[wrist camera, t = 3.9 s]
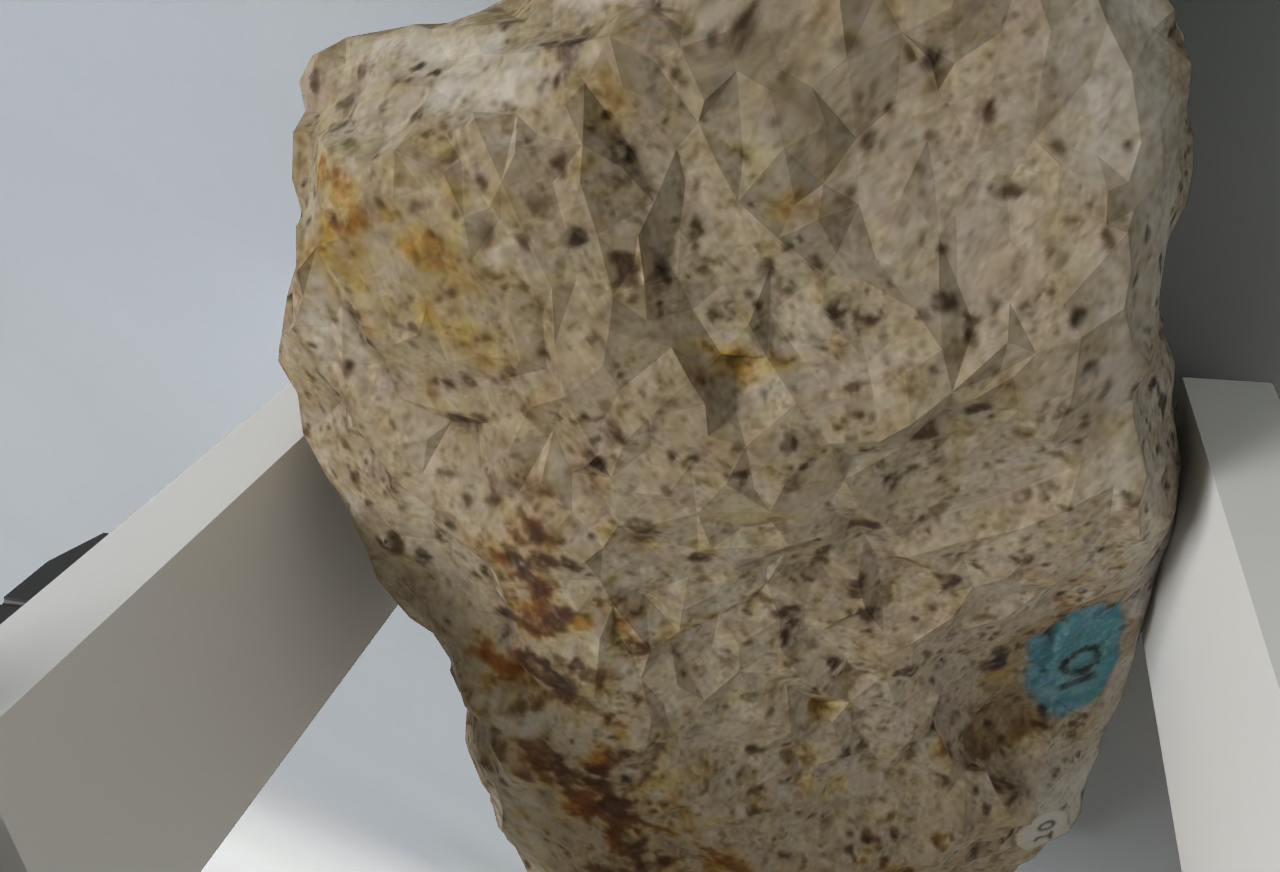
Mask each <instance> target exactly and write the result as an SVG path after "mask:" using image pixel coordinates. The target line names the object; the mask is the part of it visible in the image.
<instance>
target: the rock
mask: <svg viewBox="0 0 1280 872" xmlns="http://www.w3.org/2000/svg"><path fill="white" fill-rule="evenodd" d="M1184 39H1185V36H1184V34H1183V33H1182V31H1181V29H1180V28H1179V26H1178V24H1177V23H1176V18H1175V9H1174V7H1173V5H1172V3H1171V1H1170V0H502V1H500V2H498V3H496V4H494V5H492V6H490V7H488V8H486V9H484V10H482V11H480V12H478V13H475V14H473V15H470V16H467V17H464V18H461V19H458V20H456V21H453V22H450V23H443V24H417V25H410V26H406V27H401V28H396V29H390V30H385V31H380V32H374V33H369V34H364V35H358V36H353V37H347V38H345V39H343V40H341V41H339V42H338V43H336V44H334V45H332V46H330V47H328V48H326V49H324V50H323V51H321V52H319V53H317V54H315V55H313V56H312V58H311V60H310V61H309V63H308V65H307V67H306V69H305V71H304V73H303V75H302V77H301V79H300V81H299V82H300V87H301V92H302V96H303V101H304V106H305V111H306V112H305V113H304V115H303V117H302V118H301V120H300V122H299V124H298V125H297V127H296V129H295V130H294V132H293V168H292V180H293V183H294V186H295V190H296V193H297V197H298V200H299V203H300V207H301V210H302V212H301V219H300V221H299V223H298V225H297V226H296V268H295V271H294V275H293V278H292V282H291V285H290V289H289V292H288V296H287V301H286V308H285V315H284V323H283V330H282V337H281V342H280V348H279V363H280V365H281V366H282V368H283V370H284V371H285V373H286V375H287V377H288V378H289V380H290V382H291V383H292V385H293V387H294V388H295V390H296V392H297V394H298V401H299V408H300V415H301V422H302V429H303V434H304V436H305V438H306V440H307V441H308V443H309V445H310V447H311V449H312V451H313V452H314V454H315V456H316V458H317V460H318V462H319V463H320V465H321V467H322V469H323V471H324V473H325V474H326V476H327V478H328V480H329V481H330V483H331V484H332V485H333V487H334V488H335V489H336V491H337V492H338V494H339V495H340V496H341V498H342V500H343V502H344V504H345V506H346V508H347V511H348V513H349V515H350V517H351V519H352V521H353V524H354V526H355V528H356V530H357V532H358V534H359V536H360V538H361V540H362V542H363V544H364V546H365V548H366V550H367V553H368V555H369V558H370V561H371V564H372V566H373V569H374V572H375V575H376V577H377V579H378V580H379V582H380V583H381V584H382V585H383V586H384V588H385V589H386V590H387V591H388V592H389V594H390V595H391V596H392V597H393V598H394V600H395V601H396V602H397V603H398V604H399V606H400V607H401V608H402V609H403V610H404V611H405V613H406V614H407V615H408V616H409V617H410V618H411V619H413V620H414V621H416V622H417V623H419V624H420V625H422V626H423V627H425V628H426V629H428V630H429V631H431V632H432V633H434V635H435V636H436V638H437V640H438V641H439V643H440V644H441V646H442V647H443V649H444V650H445V652H446V653H447V655H448V656H449V658H450V660H451V669H450V671H451V674H452V676H453V678H454V680H455V683H456V685H457V687H458V689H459V691H460V692H461V695H462V698H463V702H464V705H465V707H466V708H467V716H466V737H465V740H466V744H467V747H468V751H469V753H470V755H471V758H472V760H473V763H474V765H475V767H476V770H477V772H478V775H479V777H480V779H481V782H482V784H483V785H484V787H485V788H486V789H487V791H488V792H489V793H490V801H491V803H492V804H493V808H494V812H495V816H496V820H497V823H498V827H499V828H500V829H501V831H502V832H503V833H504V834H505V836H506V838H507V840H508V841H509V842H510V843H512V844H513V845H514V846H515V847H516V849H517V851H518V853H519V855H520V857H521V859H522V861H523V863H524V865H525V867H526V869H527V871H528V872H1014V871H1015V869H1016V868H1017V867H1018V866H1019V865H1021V864H1022V863H1024V862H1026V861H1028V860H1030V859H1032V858H1034V857H1035V856H1036V854H1037V853H1038V852H1039V851H1040V850H1041V849H1042V847H1043V846H1044V845H1045V844H1046V843H1047V842H1048V841H1050V840H1053V839H1055V838H1057V837H1059V836H1061V835H1064V834H1066V833H1067V832H1068V831H1069V829H1070V828H1071V826H1072V825H1073V824H1074V822H1075V821H1076V819H1077V818H1078V816H1079V815H1080V813H1081V806H1082V798H1083V792H1084V789H1085V785H1086V781H1087V778H1088V776H1089V774H1090V772H1091V769H1092V767H1093V765H1094V763H1095V761H1096V759H1097V757H1098V755H1099V752H1100V739H1101V737H1102V735H1103V733H1104V731H1105V729H1106V727H1107V725H1108V723H1109V721H1110V719H1111V717H1112V716H1113V714H1114V712H1115V710H1116V708H1117V706H1118V704H1119V702H1120V700H1121V698H1122V696H1123V691H1124V687H1125V684H1126V681H1127V678H1128V675H1129V672H1130V669H1131V666H1132V663H1133V659H1134V655H1135V652H1136V648H1137V644H1138V640H1139V636H1140V632H1141V628H1142V624H1143V621H1144V618H1145V614H1146V611H1147V608H1148V604H1149V601H1150V597H1151V593H1152V589H1153V585H1154V581H1155V575H1156V573H1157V570H1158V568H1159V566H1160V563H1161V561H1162V558H1163V556H1164V554H1165V551H1166V549H1167V547H1168V544H1169V542H1170V539H1171V533H1172V528H1173V523H1174V517H1175V512H1176V508H1177V498H1178V490H1179V482H1180V470H1181V459H1180V452H1179V446H1178V439H1177V433H1176V426H1175V419H1174V413H1173V406H1172V394H1173V386H1174V374H1175V362H1174V359H1173V357H1172V354H1171V351H1170V349H1169V346H1168V343H1167V341H1166V338H1165V335H1164V330H1163V320H1162V317H1161V315H1160V313H1159V295H1160V288H1161V282H1162V275H1163V269H1164V262H1165V256H1166V249H1167V243H1168V240H1169V238H1170V236H1171V234H1172V232H1173V229H1174V227H1175V225H1176V223H1177V221H1178V219H1179V217H1180V215H1181V213H1182V211H1183V209H1184V208H1185V207H1186V205H1187V201H1188V195H1189V189H1190V184H1191V178H1192V173H1193V131H1192V128H1191V125H1190V122H1189V119H1188V116H1187V107H1188V99H1189V89H1190V79H1191V74H1192V71H1191V68H1192V63H1191V60H1190V58H1189V55H1188V53H1187V50H1186V47H1185V45H1184Z"/></svg>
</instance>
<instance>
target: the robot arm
mask: <svg viewBox="0 0 1280 872" xmlns="http://www.w3.org/2000/svg"><path fill="white" fill-rule="evenodd" d="M1175 426H1176V433H1177V439H1178V446H1179V452H1180V459H1181V470H1180V482H1179V490H1178V498H1177V508H1176V512H1175V517H1174V523H1173V528H1172V533H1171V539H1170V542H1169V544H1168V547H1167V549H1166V551H1165V554H1164V556H1163V558H1162V561H1161V563H1160V566H1159V568H1158V570H1157V573H1156V575H1155V581H1154V585H1153V589H1152V593H1151V597H1150V601H1149V604H1148V608H1147V611H1146V614H1145V618H1144V621H1143V624H1142V628H1141V632H1142V638H1143V644H1144V650H1145V656H1146V662H1147V668H1148V674H1149V680H1150V686H1151V692H1152V698H1153V704H1154V710H1155V716H1156V721H1157V727H1158V733H1159V739H1160V745H1161V751H1162V757H1163V763H1164V769H1165V775H1166V781H1167V787H1168V793H1169V799H1170V805H1171V811H1172V817H1173V823H1174V829H1175V835H1176V841H1177V847H1178V853H1179V858H1180V864H1181V870H1182V872H1280V399H1279V397H1278V395H1277V392H1276V390H1275V388H1274V386H1273V384H1272V383H1268V382H1252V381H1235V380H1218V379H1202V378H1185V377H1183V378H1182V383H1181V388H1180V393H1179V398H1178V403H1177V409H1176V414H1175ZM397 605H398V603H397V602H396V601H395V600H394V598H393V597H392V596H391V595H390V594H389V592H388V591H387V590H386V589H385V588H384V586H383V585H382V584H381V583H380V582H379V580H378V579H377V577H376V575H375V572H374V569H373V566H372V564H371V561H370V558H369V555H368V553H367V550H366V548H365V546H364V544H363V542H362V540H361V538H360V536H359V534H358V532H357V530H356V528H355V526H354V524H353V521H352V519H351V517H350V515H349V513H348V511H347V508H346V506H345V504H344V502H343V500H342V498H341V496H340V495H339V494H338V492H337V491H336V489H335V488H334V487H333V485H332V484H331V483H330V481H329V480H328V478H327V476H326V474H325V473H324V471H323V469H322V467H321V465H320V463H319V462H318V460H317V458H316V456H315V454H314V452H313V451H312V449H311V447H310V445H309V443H308V441H307V440H306V438H305V436H304V434H303V429H302V422H301V415H300V408H299V401H298V394H297V392H296V390H295V388H294V387H293V385H292V383H291V382H290V383H289V384H288V385H287V386H285V387H284V388H283V389H282V390H281V391H279V392H278V393H277V394H276V395H275V396H273V397H272V398H271V399H270V400H269V401H267V402H266V403H265V404H264V405H263V406H261V407H260V408H259V409H258V410H257V411H255V412H254V413H253V414H252V415H251V416H249V417H248V418H247V419H246V420H245V421H243V422H242V423H241V424H240V425H239V426H237V427H236V428H235V429H234V430H233V431H231V432H230V433H229V434H228V435H227V436H225V437H224V438H223V439H222V440H221V441H220V442H218V443H217V444H216V445H215V446H214V447H212V448H211V449H210V450H209V451H208V452H206V453H205V454H204V455H203V456H202V457H200V458H199V459H198V460H197V461H196V462H194V463H193V464H192V465H191V466H190V467H188V468H187V469H186V470H185V471H184V472H182V473H181V474H180V475H179V476H178V477H176V478H175V479H174V480H173V481H172V482H170V483H169V484H168V485H167V486H166V487H164V488H163V489H162V490H161V491H160V492H158V493H157V494H156V495H155V496H154V497H152V498H151V499H150V500H149V501H148V502H146V503H145V504H144V505H143V506H142V507H140V508H139V509H138V510H137V511H136V512H134V513H133V514H132V515H131V516H130V517H128V518H127V519H126V520H125V521H124V522H122V523H121V524H120V525H119V526H118V527H116V528H115V529H114V530H113V531H112V532H111V533H109V534H108V533H103V534H101V535H99V536H97V537H95V538H93V539H91V540H89V541H87V542H85V543H83V544H81V545H79V546H77V547H75V548H73V549H71V550H69V551H67V552H65V553H63V554H61V555H60V556H58V557H56V558H54V559H52V560H50V561H48V562H47V563H45V564H44V565H43V566H42V567H40V568H39V569H38V570H37V571H36V572H34V573H33V574H32V575H31V576H29V577H28V578H27V579H26V580H24V581H23V582H22V583H21V584H19V585H18V586H17V587H16V588H15V589H13V590H12V591H11V592H10V593H8V594H7V595H6V596H5V597H4V603H3V604H2V605H0V872H201V870H202V869H203V868H204V866H205V865H206V863H207V862H208V861H209V859H210V858H211V857H212V855H213V854H214V853H215V851H216V850H217V849H218V847H219V846H220V845H221V843H222V842H223V840H224V839H225V838H226V836H227V835H228V834H229V832H230V831H231V830H232V828H233V827H234V826H235V824H236V823H237V822H238V820H239V819H240V817H241V816H242V815H243V813H244V812H245V811H246V809H247V808H248V807H249V805H250V804H251V803H252V801H253V800H254V799H255V797H256V796H257V794H258V793H259V792H260V790H261V789H262V788H263V786H264V785H265V784H266V782H267V781H268V780H269V778H270V777H271V776H272V774H273V773H274V771H275V770H276V769H277V767H278V766H279V765H280V763H281V762H282V761H283V759H284V758H285V757H286V755H287V754H288V753H289V751H290V750H291V748H292V747H293V746H294V744H295V743H296V742H297V740H298V739H299V738H300V736H301V735H302V734H303V732H304V731H305V730H306V728H307V727H308V725H309V724H310V723H311V721H312V720H313V719H314V717H315V716H316V715H317V713H318V712H319V711H320V709H321V708H322V707H323V705H324V704H325V702H326V701H327V700H328V698H329V697H330V696H331V694H332V693H333V692H334V690H335V689H336V688H337V686H338V685H339V684H340V682H341V681H342V679H343V678H344V677H345V675H346V674H347V673H348V671H349V670H350V669H351V667H352V666H353V665H354V663H355V662H356V661H357V659H358V658H359V656H360V655H361V654H362V652H363V651H364V650H365V648H366V647H367V646H368V644H369V643H370V642H371V640H372V639H373V638H374V636H375V635H376V633H377V632H378V631H379V629H380V628H381V627H382V625H383V624H384V623H385V621H386V620H387V619H388V617H389V616H390V615H391V613H392V612H393V610H394V609H395V608H396V606H397Z"/></svg>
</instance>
